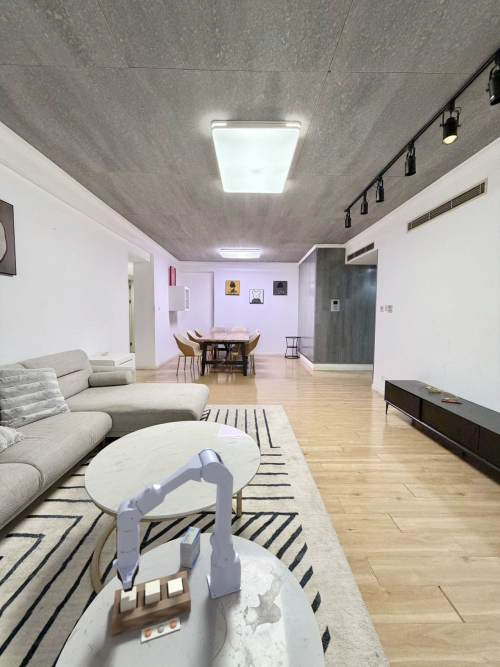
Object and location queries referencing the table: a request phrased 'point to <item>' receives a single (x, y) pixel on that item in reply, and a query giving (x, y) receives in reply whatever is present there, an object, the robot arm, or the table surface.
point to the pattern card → (160, 629)
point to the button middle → (152, 592)
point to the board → (150, 606)
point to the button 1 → (128, 600)
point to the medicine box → (190, 547)
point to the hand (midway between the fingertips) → (128, 589)
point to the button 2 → (175, 587)
